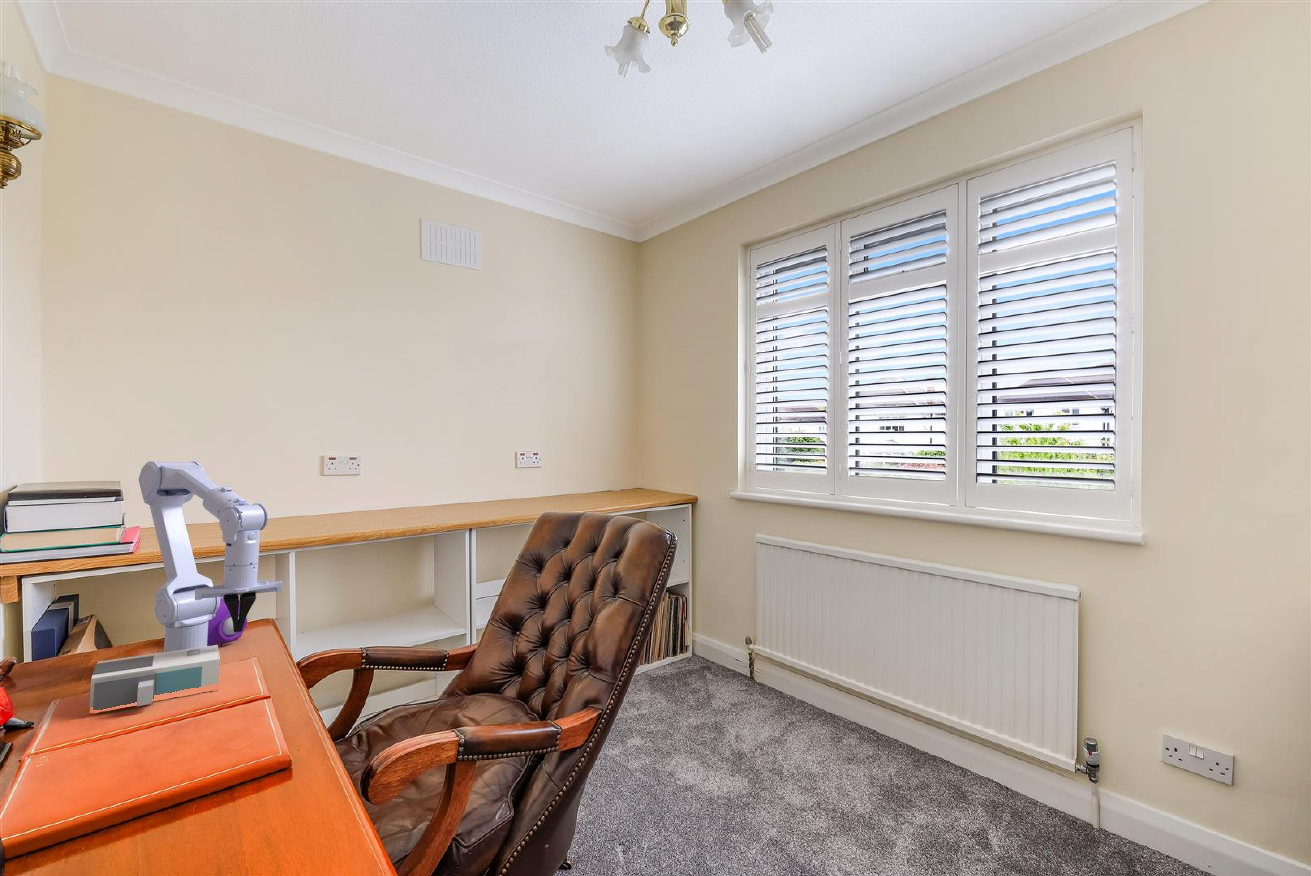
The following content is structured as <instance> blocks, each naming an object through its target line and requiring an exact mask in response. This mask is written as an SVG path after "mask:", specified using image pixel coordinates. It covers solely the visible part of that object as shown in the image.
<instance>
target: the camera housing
mask: <svg viewBox="0 0 1311 876" xmlns="http://www.w3.org/2000/svg"><path fill="white" fill-rule="evenodd" d="M220 667H221V658H220V651H219V644H217V645H213V646H206V647H199V648H192V649H184V650H177V651H170V652H164V651H162V652H156V653H149V654H143V655H136V656H128V657H121V658H114V659H107V660H100V661H97V663H96V664H95V667H94V669H93V673H92V675H91V679H90V693H89V708H91V707H93V700H94V684H95V681H100V680H106V679H113V678H119V677H126V676H132V675H139V674H145V673H152V672H156V676H155V693H154V695H160V694H164V693H172V692H175V691H176V692H177V691H180V690H184V689H190V688H199V687H203V686H209V685H213V684H219V685H220V682H219V681H220Z"/></svg>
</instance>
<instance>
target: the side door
mask: <svg viewBox="0 0 1311 876" xmlns="http://www.w3.org/2000/svg"><path fill="white" fill-rule="evenodd" d="M155 676H156V672H152V673H145V674H139V675H132V676H126V677H119V678H113V679H106V680H100V681H95V684H94V700H93V710H103V709H107V708H112V707H116V706H120V705H127V704H131V703H135V702H137V706H136V707H140V706H145V705H146V706H147V705H152V704H153V703H152V699H154V693H155Z"/></svg>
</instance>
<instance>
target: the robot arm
mask: <svg viewBox="0 0 1311 876" xmlns="http://www.w3.org/2000/svg"><path fill="white" fill-rule="evenodd" d="M138 483H139V487H140V492H141V495H142V499H143V503H144V504H146V505H148V506H149V508H150V513H151V517H152V522H153V525H154V530H155V534H156V538H157V542H158V545H159V546H158V547H159V551H160V554H161V558H162V563H163V567H164V568H163V569H164V571H165V575H166V579H167V581H166V582H165V583H164V584H163V585H161V586H160V587H159V589H157V591H156V592H155V593H154V599H155V600H154V601H155V606H154V615H155V619H156V620H157V622H159V624H161V626H164V643H163V645H164V646H163V652H170V651H177V650H184V649H192V648H199V647H206V646H207V637H208V620H211V619H212V615H214V614H215V613H216V612H217V610H218V608H219V605H220V597H223V599H224V602H225V604H226V606H227V608H228V610H229V612H230V615H231V618H232V621H233V631H234V632H242V630H243V625H244V622H245V619H246V618H247V617H248V614H249V612H250V610H251V609H252V606H253V605H254V603H255V602H256V599H257V594H263V593H273V592H276V593H280V592H281V593H282V592H283V581H282V580H277V581H276V580H275V581H274V580H273V581H271V580H270V581H258V574H259V557H260V541H261V540H260V538H261V537H260V535H261V531H263V530H264V529H266V526H267V523H268V521H269V519H268V518H269V517H268V512H267V509H266V507H264V506H263V504H262V503H259V502H258V503H256V502H255V503H249V502H248V501H247V500H246V499H245V498H243V497H241V496H240V495H238V494H237V493H236V492H234V491H233V488H232V487H231V486H218V485H217V484H216V483H214V482H213V481H212V480H211V478H209V477H208V476H207V475H206V469H205V466H204V465H202V464H201V463H200V462H198V461H197V460H196V461H195V460H193V461H152V460H151V461H147V462H146V463H145V464H144V465H143V466H142V468H141V470H140V472H139V477H138ZM194 495H195V496H197V498H200V499H201V500H202V506H203V508H204V509H205V510H206V511H207V512H209V513H210V514H211V515H213V517H215V518H216V519H217V520H219V527H220V530H221V533H222V541H223V542H224V543H225V544H224V545H225V547H224V549H225V550H224V565H223V566H224V567H223V580H222V581H223V582H222V583H223V584H220V585H214V584H213V580H212V579H211V578H209V577H207V576H204V575H203V574H201V573H198V570H197V569H198V568H197V565H196V561H195V557H194V554H193V550H192V549H193V548H192V544H191V542H190V537H189V533H188V530H187V526H186V521H185V517H184V512H183V510H182V509H183V508H182V507H183V505H184V504H185V503H188V502H189V501H191V500H192V499H193V497H194ZM239 601H240V609H239ZM238 611H239V619H238Z"/></svg>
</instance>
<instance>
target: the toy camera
mask: <svg viewBox="0 0 1311 876" xmlns="http://www.w3.org/2000/svg"><path fill="white" fill-rule="evenodd" d="M239 609H240V600H239ZM238 619H239V611H238ZM247 626H248V619H247V617H246V619H245V622H244V625H243V630H242V632H234V631H233V621H232V618H231V615H230V612H229V610H228V608H227V606H226V604H225V602H224V599H223V597H220V605H219V608H218V610H217V612H216V613H215V614H214V615H212V619H211V620H208V637H207V646H213V645H221V644H224V643H229V642H231V641H235V640H237V639H240V638H241V637H242V636H243V633H244V632H245V630H246V628H247Z"/></svg>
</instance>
